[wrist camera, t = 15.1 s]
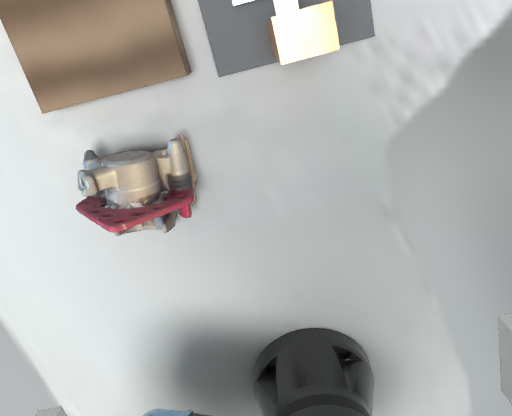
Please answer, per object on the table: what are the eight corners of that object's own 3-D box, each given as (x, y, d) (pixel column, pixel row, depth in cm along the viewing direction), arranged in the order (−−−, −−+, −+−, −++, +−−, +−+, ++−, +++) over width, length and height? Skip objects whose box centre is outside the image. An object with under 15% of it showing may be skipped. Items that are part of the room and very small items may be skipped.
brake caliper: (101, 255, 45) (41, 234, 33) (104, 160, 47) (49, 110, 36) (205, 247, 44) (181, 223, 33) (202, 153, 47) (178, 99, 36)
